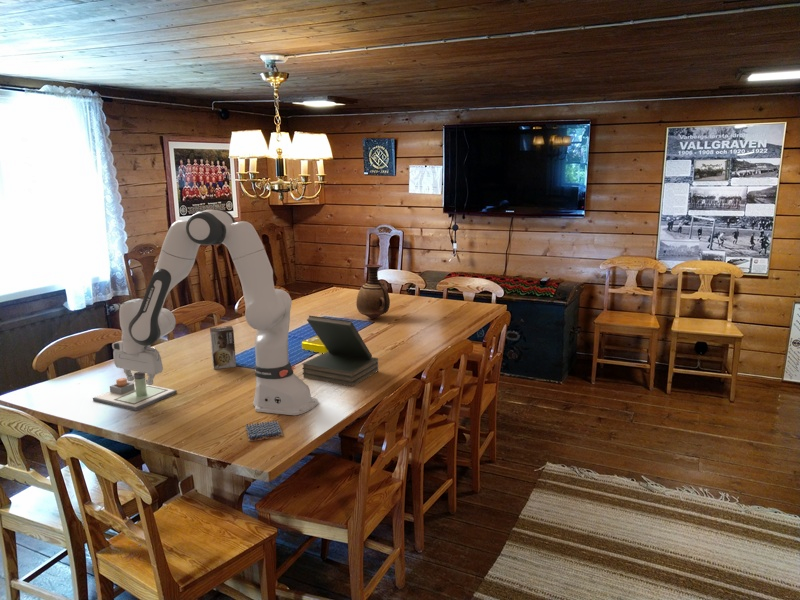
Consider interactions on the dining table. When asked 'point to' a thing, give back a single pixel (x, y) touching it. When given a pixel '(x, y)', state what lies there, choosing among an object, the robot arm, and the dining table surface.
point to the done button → (121, 382)
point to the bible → (339, 354)
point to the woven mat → (263, 430)
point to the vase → (373, 295)
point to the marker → (140, 384)
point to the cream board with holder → (133, 396)
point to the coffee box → (223, 347)
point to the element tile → (314, 345)
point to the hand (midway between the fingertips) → (140, 382)
